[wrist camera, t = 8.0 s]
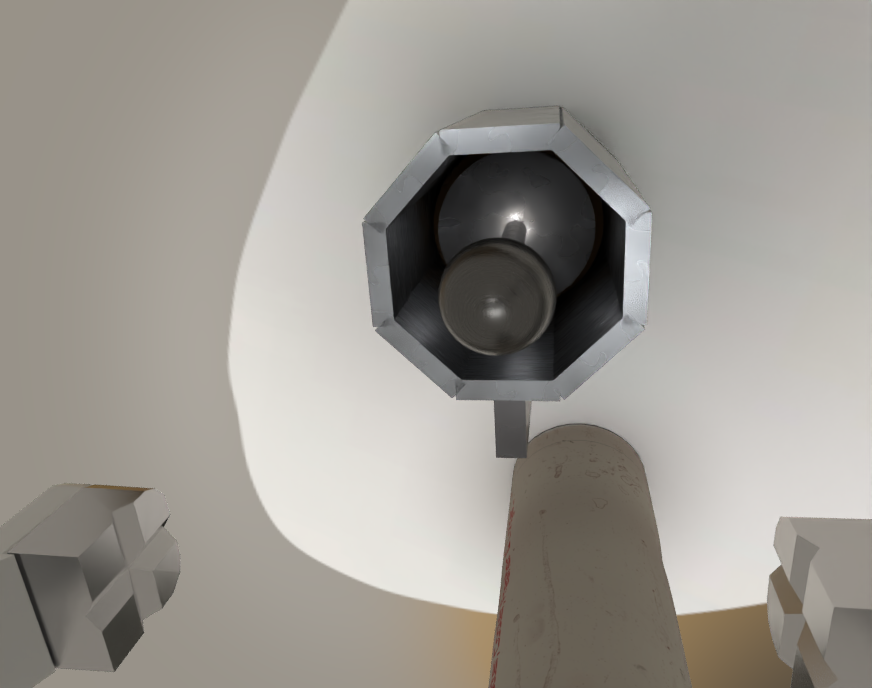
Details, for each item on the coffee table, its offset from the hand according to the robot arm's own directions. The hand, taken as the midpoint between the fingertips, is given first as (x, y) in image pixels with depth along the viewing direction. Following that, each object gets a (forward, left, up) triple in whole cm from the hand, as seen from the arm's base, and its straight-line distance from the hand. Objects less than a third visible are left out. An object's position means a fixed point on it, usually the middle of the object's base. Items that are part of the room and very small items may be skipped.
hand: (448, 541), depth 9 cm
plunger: (0, +1, -23) cm, 23 cm away
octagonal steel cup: (0, +2, -29) cm, 29 cm away
